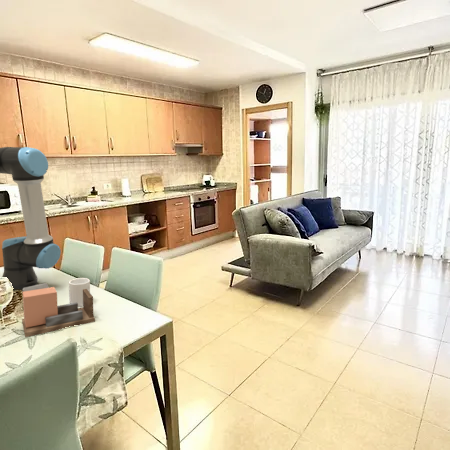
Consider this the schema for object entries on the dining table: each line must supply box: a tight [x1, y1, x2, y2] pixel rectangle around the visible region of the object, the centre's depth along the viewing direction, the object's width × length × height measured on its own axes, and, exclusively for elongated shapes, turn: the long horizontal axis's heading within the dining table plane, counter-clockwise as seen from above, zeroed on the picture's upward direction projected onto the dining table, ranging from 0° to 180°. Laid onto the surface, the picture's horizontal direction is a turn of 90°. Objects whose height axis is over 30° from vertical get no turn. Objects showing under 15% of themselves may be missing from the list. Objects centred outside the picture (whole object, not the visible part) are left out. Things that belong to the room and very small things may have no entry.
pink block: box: [22, 286, 58, 328], centre depth 116 cm, size 10×6×11 cm, turn 126°
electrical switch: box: [21, 282, 49, 293], centre depth 132 cm, size 9×5×9 cm, turn 141°
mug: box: [68, 277, 91, 308], centre depth 139 cm, size 8×12×10 cm, turn 40°
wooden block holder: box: [21, 289, 96, 338], centre depth 119 cm, size 22×12×10 cm, turn 126°
